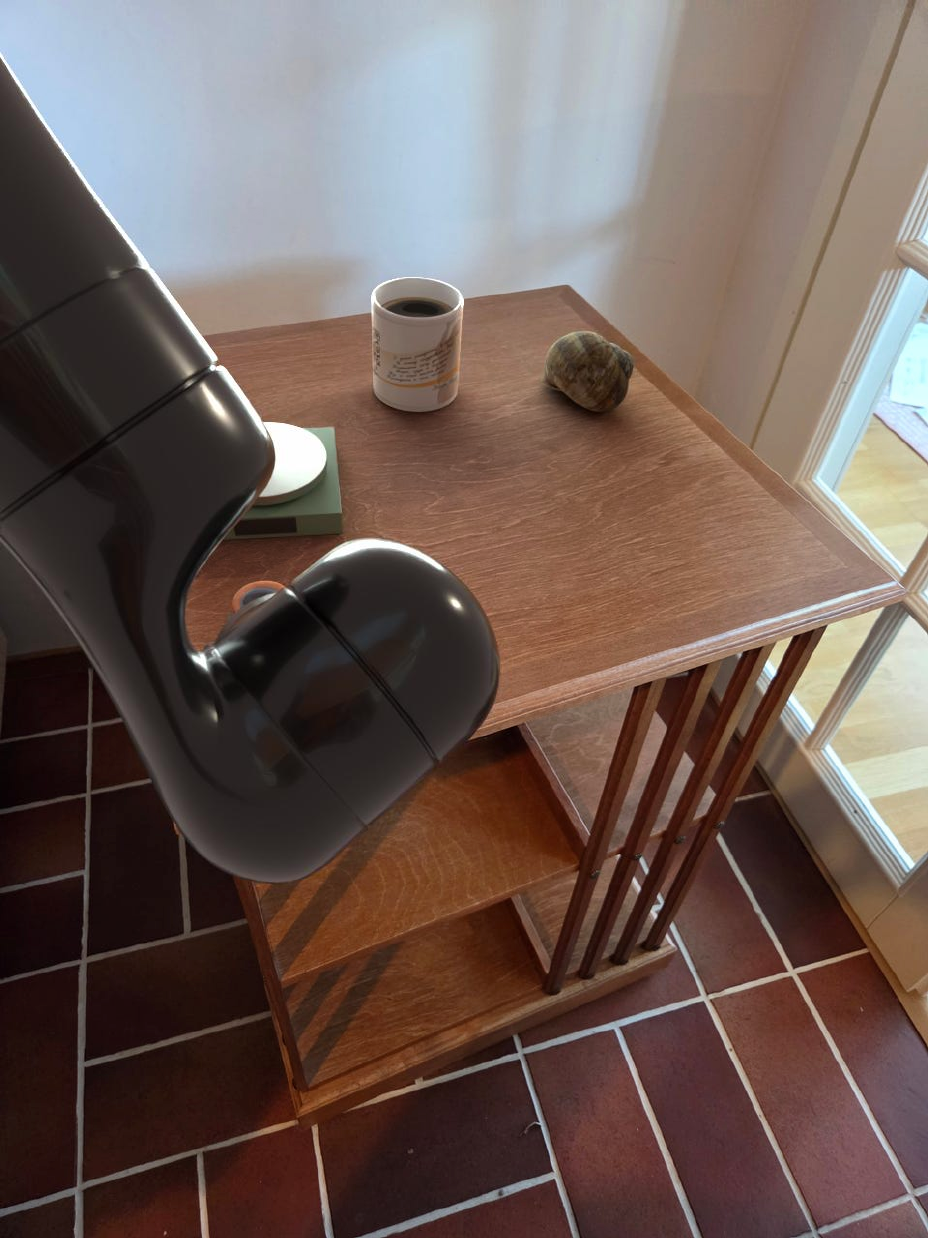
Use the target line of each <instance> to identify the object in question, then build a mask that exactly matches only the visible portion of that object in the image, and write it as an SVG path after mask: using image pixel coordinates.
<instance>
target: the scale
mask: <svg viewBox="0 0 928 1238" xmlns="http://www.w3.org/2000/svg"><path fill="white" fill-rule="evenodd" d="M263 423H264V425H265V426H266V428H267V430H268V431H269V433H270V436H271V438H272V441H273V444H274V448H275V454H276V461H275V468H274V471H273V474H272V477H271V479H270V481H269V482H268V484H267V486H266V488H265V489H264V490H263V492H262V493H261V495H260V496H259V497H258V499H257V500H256V501H255V503H254V504H253V506H252V507H251V508H250V509H249V510H248V511H247V513H246V514H245V515H244V516H243V517H242V518H241V520H240V521H239V522H238V523H237V524H236V525H235V527H234V528H233V529H232V530H231V531H230V532H229V533H228V535H227V536H226V537H225V538H224V539H223V540H222V541H228V540H229V541H231V540H246V539H247V540H248V539H265V538H283V537H285V538H286V537H300V536H301V537H303V536H322V535H323V536H324V535H337V534H338V535H339V534H344V527H343V512H342V511H343V510H342V499H341V488H340V487H341V486H340V477H339V476H340V475H339V465H338V455H337V453H338V452H337V442H336V430H335V427H334V426H329V427H327V426H326V427H325V426H324V427H302V428H301V427H298V426H295V425H292V424H288V423H283V422H268V421H267V422H264V421H263Z"/></svg>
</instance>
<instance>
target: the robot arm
mask: <svg viewBox="0 0 928 1238" xmlns="http://www.w3.org/2000/svg"><path fill="white" fill-rule="evenodd" d="M56 137H57V136H56V135H54V133H53V131H52V130H51V128H50V127H49V126H48V125H47V123H46V122H45V120H44V118H43V116H42V115H41V114H40V112H39V111H38V109H37V108H36V106H35V104H34V103H33V102H32V99H30V96H29V95H28V94H27V92H26V90H25V89H24V88H23V86H22V84H21V82H20V81H19V79H18V78H17V76H16V75H15V74H14V72H13V70H12V69H11V67H10V66H9V64H8V63H7V62H6V59H4V56H3V55H2V54H1V53H0V544H2V546H4V547H5V549H6V550H7V551H8V552H9V553H10V554H11V555H12V556H13V558H15V559H16V561H17V562H18V564H19V565H21V567H22V568H23V569H24V570H25V571H26V572H27V574H28V575H29V576H30V577H31V579H32V580H33V581H34V583H35V584H36V586H37V587H38V588H39V589H40V590H41V591H42V593H43V594H44V595H45V597H46V599H48V601H49V603H50V604H51V605H52V607H53V608H54V609H55V611H56V612H57V613H58V615H59V616H60V618H61V619H62V620H63V622H64V623H65V625H66V626H67V628H68V629H69V631H70V632H71V634H72V635H73V637H74V638H75V640H76V641H77V643H78V645H79V646H80V648H81V650H82V651H83V653H84V655H85V656H86V658H87V660H88V661H89V663H90V664H91V666H92V668H93V669H94V671H95V673H96V674H97V676H98V677H99V679H100V682H102V685H103V686H104V689H105V690H106V693H107V694H108V696H109V698H110V700H111V702H112V703H113V705H114V708H115V709H116V711H117V714H118V715H119V717H120V718H121V721H122V723H123V725H124V727H125V729H126V731H127V733H128V735H129V738H130V739H131V742H132V744H133V746H134V748H135V750H136V752H137V755H138V756H139V758H140V760H141V763H142V765H143V767H144V769H145V771H146V773H147V775H148V777H149V779H150V781H151V783H152V785H153V787H154V790H155V791H156V793H157V795H158V798H159V799H160V801H161V803H162V805H163V806H164V808H165V810H166V812H167V813H168V815H169V816H170V818H171V820H172V822H173V823H174V825H175V826H176V828H177V830H178V832H179V833H180V834H181V835H182V837H183V838H184V839H185V840H186V842H187V844H189V846H191V848H192V849H193V850H194V851H195V852H196V853H197V854H198V855H200V856H201V857H202V858H203V859H204V860H206V861H207V862H208V863H209V864H211V865H212V866H214V867H216V868H217V869H219V870H220V871H222V872H224V873H226V874H228V875H231V876H233V877H236V878H238V879H241V880H245V881H249V882H254V883H257V884H269V885H284V884H291V883H297V882H300V881H303V880H306V879H308V878H310V877H312V876H313V875H314V874H316V873H318V872H319V871H320V870H323V869H324V868H325V867H326V866H328V865H329V864H331V863H332V862H333V861H334V860H335V859H336V858H337V857H339V856H340V855H341V854H342V853H343V852H344V851H346V850H347V849H348V848H349V847H350V846H352V844H354V843H355V842H356V841H357V840H358V839H359V838H361V836H363V834H365V833H366V832H367V830H368V829H369V827H372V826H373V825H374V824H375V823H376V822H378V820H380V819H381V818H382V817H383V816H384V815H386V814H387V813H388V812H389V811H390V810H391V809H392V808H394V807H395V805H397V804H398V803H400V801H401V800H402V799H403V798H405V797H406V796H407V795H408V794H410V792H411V791H413V790H414V789H416V787H417V786H418V785H420V783H422V782H423V781H424V780H425V779H427V778H428V776H430V775H431V774H432V773H433V772H435V770H436V769H437V765H442V764H443V763H444V762H446V761H447V760H448V759H449V758H450V757H452V755H454V754H455V753H456V752H457V751H458V750H459V749H460V748H461V747H463V746H464V745H465V744H466V743H467V742H468V741H469V740H470V739H471V738H472V737H473V736H474V735H475V734H476V733H477V731H478V730H479V729H480V728H481V727H482V725H483V724H484V722H485V721H486V720H487V718H488V716H489V715H490V714H491V713H490V712H491V711H492V709H493V707H494V704H495V701H496V698H497V696H498V691H499V687H500V681H501V680H500V679H501V656H500V650H499V645H498V642H497V639H496V635H495V631H494V629H493V627H492V624H491V621H490V619H489V617H488V615H487V613H486V610H485V609H484V607H483V606H482V604H481V603H480V601H479V600H478V598H477V597H476V595H475V594H474V593H473V592H472V590H470V588H469V587H468V586H467V585H466V583H465V582H464V581H462V579H461V578H460V577H459V576H458V575H457V574H456V573H455V572H453V571H452V570H451V569H449V567H447V566H446V565H444V564H443V563H442V562H440V561H439V560H438V559H436V558H434V557H433V556H431V555H430V554H429V553H426V552H424V551H422V550H420V549H418V548H416V547H414V546H411V545H409V544H405V543H402V542H401V541H400V542H399V541H395V540H392V539H386V538H381V537H362V538H355V539H352V540H348V541H346V542H343V543H342V544H339V545H337V546H336V547H334V548H333V549H331V550H330V551H328V552H327V553H325V554H324V555H323V556H321V557H320V558H319V559H318V560H317V561H315V562H314V563H312V564H311V565H310V566H309V567H307V568H306V569H304V571H302V572H301V573H300V574H299V575H297V576H296V577H294V578H293V579H292V580H291V581H289V582H288V587H286V588H282V589H281V590H280V591H278V592H276V593H272V594H268V595H265V596H262V597H260V598H257V599H255V600H253V601H251V602H249V603H248V604H246V605H244V606H243V607H241V608H240V609H239V610H237V611H236V612H235V613H234V614H233V615H232V616H231V617H230V618H229V619H228V618H227V619H228V620H227V619H226V621H227V622H226V621H225V622H224V624H223V626H222V627H221V628H220V631H219V632H218V634H217V636H216V638H215V640H214V641H213V642H208V643H205V644H204V645H203V647H202V649H201V650H198V649H196V648H195V647H194V645H193V643H192V642H191V640H190V638H189V635H188V632H187V625H186V609H187V608H186V607H187V603H188V598H189V594H190V591H191V588H192V585H193V583H194V582H195V579H196V578H197V576H198V575H199V573H200V571H201V570H202V568H203V567H204V565H205V563H206V562H207V560H208V559H210V557H211V555H213V553H214V551H215V550H216V549H217V548H218V547H219V545H220V544H221V543H222V542H223V541H224V540H223V539H224V538H225V537H226V536H227V535H228V533H229V532H230V531H231V530H232V529H233V528H234V527H235V525H236V524H237V523H238V522H239V521H240V520H241V518H242V517H243V516H244V515H245V514H246V513H247V511H248V510H249V509H250V508H251V507H252V506H253V504H254V503H255V501H256V500H257V499H258V497H259V496H260V495H261V493H262V492H263V490H264V489H265V488H266V486H267V484H268V482H269V481H270V479H271V477H272V474H273V471H274V468H275V461H276V454H275V448H274V444H273V441H272V438H271V436H270V433H269V431H268V430H267V428H266V426H265V425H264V423H263V422H264V421H263V420H262V417H261V416H260V414H259V413H258V411H257V410H256V408H255V407H254V405H253V404H252V403H251V401H250V399H248V397H247V395H246V394H245V393H244V392H243V390H242V389H241V388H240V385H238V383H237V382H236V381H235V379H234V378H233V376H232V375H231V374H230V372H229V371H228V369H227V368H226V367H225V366H223V365H219V366H216V365H217V364H218V362H219V358H218V356H217V355H216V353H215V352H214V351H213V350H212V348H211V347H210V345H209V344H208V343H207V341H206V340H205V339H204V337H203V336H202V335H201V333H200V332H199V331H198V329H197V328H196V326H195V325H194V324H193V323H192V321H191V320H190V318H189V317H188V316H187V315H186V313H185V311H184V310H183V309H182V307H181V306H180V305H179V303H178V302H177V301H176V299H175V298H174V297H173V295H172V294H171V293H170V291H169V290H168V288H167V287H166V286H165V285H164V283H163V282H162V281H161V279H160V278H159V276H158V275H157V274H156V273H155V271H154V269H152V268H151V267H150V265H149V263H148V262H147V261H146V259H145V258H144V256H143V255H142V253H141V252H140V251H139V250H138V248H137V247H136V246H135V244H134V243H133V242H132V240H131V239H130V238H129V237H128V235H127V234H126V233H125V231H124V230H123V229H122V227H121V226H120V225H119V223H118V222H117V221H116V220H115V218H114V217H113V215H112V214H111V213H110V211H109V210H108V209H107V208H106V207H105V205H104V204H103V202H102V200H101V199H100V198H99V197H98V196H97V194H96V193H95V192H94V191H93V189H92V187H91V186H90V185H89V183H88V182H87V180H86V179H85V178H84V176H83V175H82V173H81V171H80V170H79V169H78V166H76V165H75V163H74V162H73V160H72V159H71V158H70V156H69V154H68V153H67V152H66V150H65V149H64V147H63V146H62V144H61V143H60V142H59V140H58V139H57V138H56Z"/></svg>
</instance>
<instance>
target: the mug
mask: <svg viewBox="0 0 928 1238" xmlns="http://www.w3.org/2000/svg"><path fill="white" fill-rule="evenodd" d="M463 316H464V297H463V295H462V293H461V292H460V291H459V290H458V289H457V288H455V287H454V286H452V285H450V284H449V283H446V282H444V281H441V280H437V279H432V278H427V277H401V278H395V279H392V280H388V281H385V282H383V283H381V284H379V285H378V286H377V287H375V289H374V290H373V292H372V294H371V337H372V338H371V339H372V341H371V342H372V345H371V346H372V389H373V393H374V394H375V396H376V397H377V398H378V400H379V401H380V402H382V403H383V404H385V405H387V406H389V407H390V408H391V407H392V408H393V409H396V410H399V411H400V410H401V411H405V412H411V413H423V412H425V413H426V412H432V411H437V410H439V409H442V408H444V407H447V406H448V405H450V404H451V403H452V402H454V400H455V399H456V397H457V395H458V392H459V382H460V381H459V380H460V367H461V366H460V363H461V351H462V350H461V348H462V332H463Z"/></svg>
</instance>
